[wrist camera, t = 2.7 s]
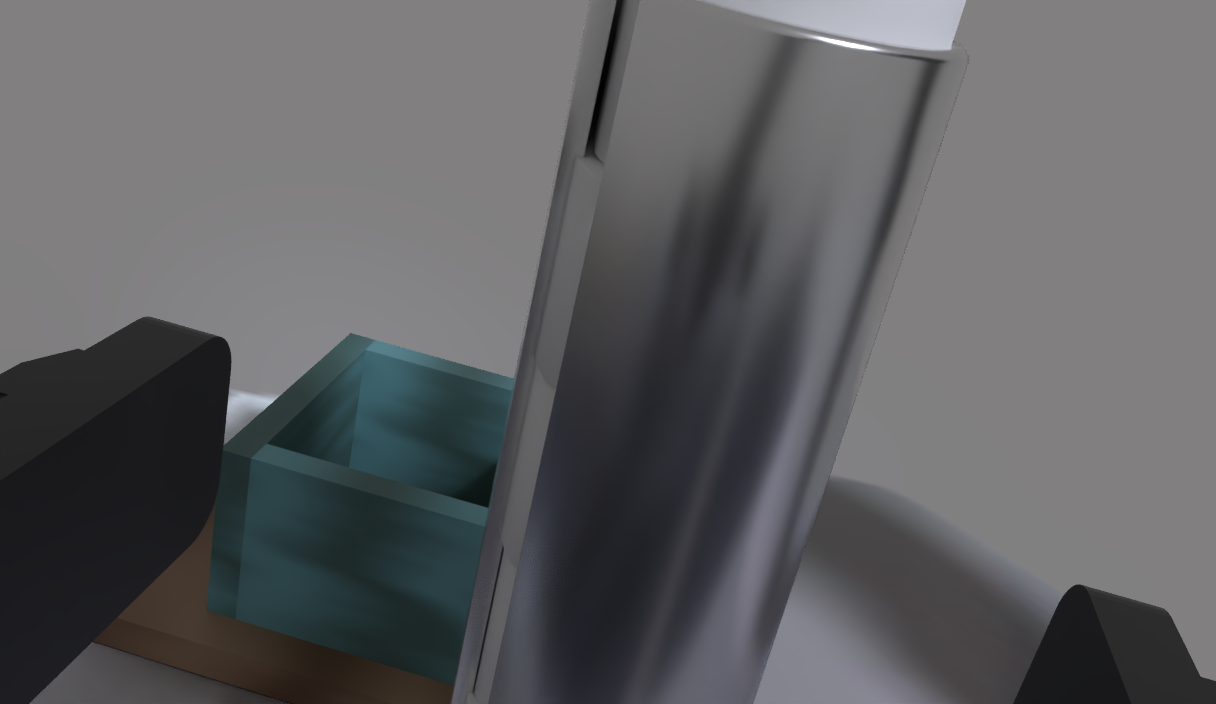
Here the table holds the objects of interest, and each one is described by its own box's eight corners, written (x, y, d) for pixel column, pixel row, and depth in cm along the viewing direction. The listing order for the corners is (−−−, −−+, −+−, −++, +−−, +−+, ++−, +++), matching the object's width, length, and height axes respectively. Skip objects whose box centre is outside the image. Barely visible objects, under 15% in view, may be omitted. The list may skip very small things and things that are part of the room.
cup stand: (668, 570, 46) (711, 416, 43) (609, 802, 34) (664, 610, 31) (255, 450, 48) (270, 293, 45) (61, 631, 36) (66, 434, 33)
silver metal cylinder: (433, 833, 32) (624, -106, 22) (658, 886, 32) (951, -29, 22) (367, 1054, 26) (589, -98, 16) (644, 1119, 26) (1038, 7, 16)
